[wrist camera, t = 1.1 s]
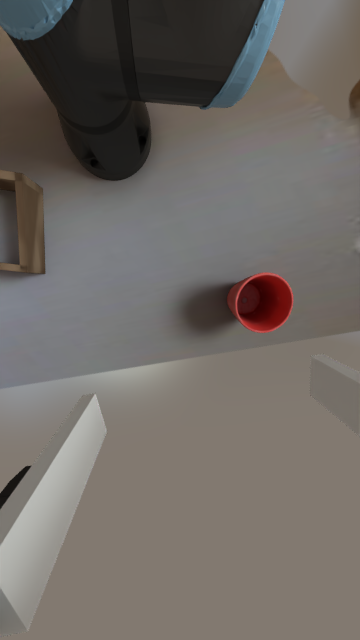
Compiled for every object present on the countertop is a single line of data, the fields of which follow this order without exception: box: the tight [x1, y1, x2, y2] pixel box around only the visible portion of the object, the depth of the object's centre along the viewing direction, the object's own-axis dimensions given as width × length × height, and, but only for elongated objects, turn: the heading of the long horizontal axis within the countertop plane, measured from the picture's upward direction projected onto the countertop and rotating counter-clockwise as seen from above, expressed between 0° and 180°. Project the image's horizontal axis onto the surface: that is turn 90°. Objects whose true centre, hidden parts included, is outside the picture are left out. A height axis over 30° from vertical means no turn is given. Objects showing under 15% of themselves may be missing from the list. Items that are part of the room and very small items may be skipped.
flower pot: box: [227, 273, 293, 333], centre depth 37 cm, size 11×11×10 cm
